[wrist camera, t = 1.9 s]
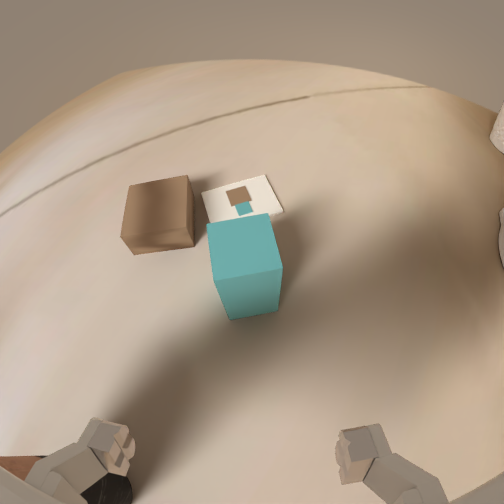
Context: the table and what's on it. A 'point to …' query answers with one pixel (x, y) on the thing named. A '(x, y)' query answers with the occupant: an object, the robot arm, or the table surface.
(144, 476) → the table surface
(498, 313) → the table surface
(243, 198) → the page
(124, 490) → the travel mug
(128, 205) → the walnut brick
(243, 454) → the table surface
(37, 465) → the robot arm
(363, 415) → the table surface
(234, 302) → the teal brick
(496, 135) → the white cup
